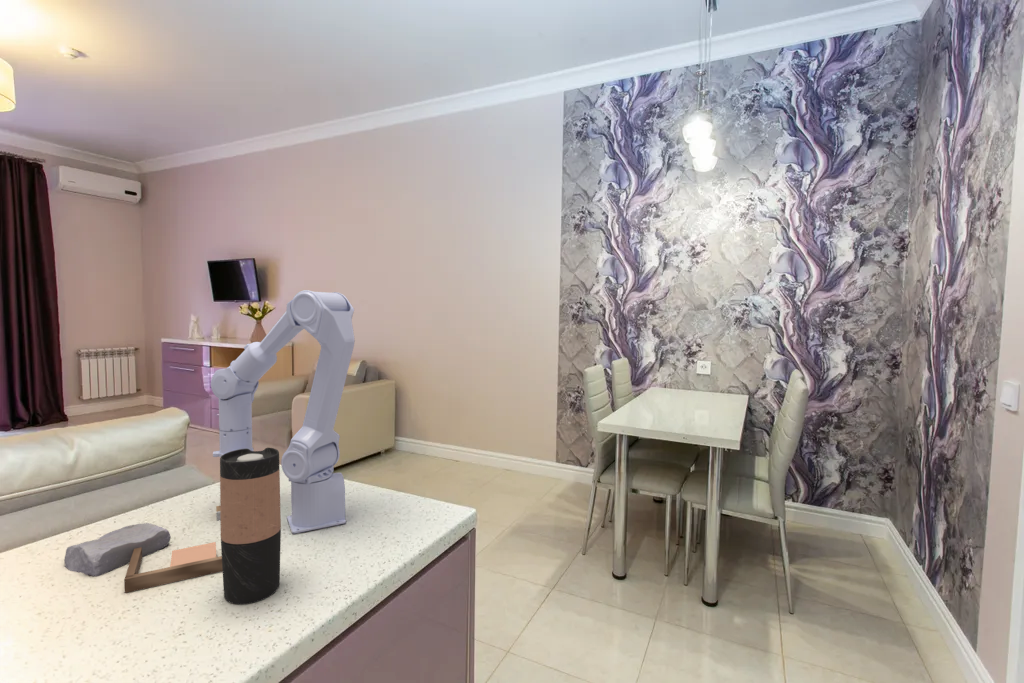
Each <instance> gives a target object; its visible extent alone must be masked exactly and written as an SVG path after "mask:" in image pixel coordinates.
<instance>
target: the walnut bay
mask: <svg viewBox="0 0 1024 683" xmlns="http://www.w3.org/2000/svg"><path fill="white" fill-rule="evenodd" d="M142 562H143V557H142V547H141V548H135V549H134V551H133V554H132V557H131V560H130V563H128V566H127V570H126V573H125V576H124V580H123V581H124V582H123V583H124V594H128V593H131V592H136V591H141V590H145V589H149V588H154V587H157V586H164V585H167V584H172V583H173V584H174V583H176V582H181V581H185V580H190V579H194V578H199V577H202V576H203V577H204V576H208V575H213V574H216V573H221V572H222V573H223V570H222V555H221V556H216V557H215V558H210V559H205V560H201V561H196V562H191V563H186V564H182V565H177V566H172V567H170V566H168V567H164V568H158V569H154V570H149V571H144V572H140V569H141V565H142Z"/></svg>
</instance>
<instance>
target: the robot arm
mask: <svg viewBox="0 0 1024 683" xmlns="http://www.w3.org/2000/svg"><path fill="white" fill-rule="evenodd" d="M354 313H355V308H354V307H353V305H352V303H351V302H350V301H349V299H348V298H347V296H346V295H345V294H343V293H341V292H338V291H335V292H327V291H325V292H324V291H313V290H308V289H305V290H300V291H298V292H297V293H296V294H295V295H294V296H293V298H292V299H291V300H290V301H288V302H287V303H286V310H285V311H284V313H283V315H281V316H280V318H279V319H278V321H277V322H276V323H275V324H274V325H273V327H272V328H271V329H270V330H269V331H268V333H267V334H266V335H265V336H264V338H263V339H262V340H261V341H253V342H251V343H247V344H246V345H245V346H244V347H243V349H244V350H243V351H242V352H241V353H240V355H239V356H237V358H236V359H234V360H232V361H231V362H230V365H229V366H228V367H226V368H220V369H217V370H215V372H214V374H213V375H212V377H211V381H210V388H211V391H212V394H213V395H214V396H215V397H216V398H217V399H218V432H219V433H218V435H219V440H218V441H219V450H216V451H215V450H213V452H212V457H213V458H217V457H219V458H221V456H222V455H224V454H225V453H228V452H231V451H235V450H239V449H249V450H251V451H255V450H254V447H253V411H252V410H253V406H252V404H253V402H254V401H255V394H256V392H257V390H258V389H259V384H260V383H259V382H260V381H259V380H261V378H262V377H263V376H264V375H266V373H268V372H269V371H270V369H271V368H273V367H274V366H275V364H276V363H277V361H278V356H277V353H278V352H280V350H282V349H283V348H284V347H285V346H286V345H287V344H289V342H290V341H292V340H293V339H294V338H295V337H296V336H297V335H299V333H301V332H302V331H303V330H305V331H306V332H307V333H309V335H311V336H312V337H313V338H314V339H315V340H317V342H318V344H319V345H320V352H319V355H318V358H317V363H316V368H315V372H314V377H313V380H312V383H311V390H310V393H309V397H308V401H307V406H306V410H305V413H304V419H303V421H302V422H303V424H302V427H300V428H299V430H298V431H297V432H296V433H295V434H294V435H293V437H292V438H291V439H290V443H289V444H288V445H289V446H288V448H287V449H286V450H284V452H283V454H282V456H281V461H280V463H281V464H280V465H281V466H280V467H281V469H282V472H283V474H284V476H286V478H288V482H290V484H291V485H290V488H291V489H290V491H291V492H290V497H291V498H290V499H291V500H290V501H291V504H290V505H291V506H290V509H291V510H290V511H291V515H287V516H286V520H287V523H288V526H289V528H290V531H291V534H299V533H303V532H308V531H309V532H310V531H314V530H319V529H325V528H329V527H334V526H338V525H343V524H346V523H347V520H346V484H345V478H344V475H343V473H342V472H334V466H335V465H337V463H338V461H339V460H340V456H341V453H340V452H341V450H340V447H339V446H340V445H339V444H340V438H341V436H340V434H339V433H338V432H336V431H335V430H334V428H335V424H336V421H337V418H338V417H337V416H338V412H339V408H340V405H341V404H340V403H341V400H342V396H343V392H344V389H345V388H344V387H345V385H346V380H347V377H348V372H349V367H350V363H351V359H352V356H353V352H354V347H355V341H356V340H355V333H354V326H353V316H354Z"/></svg>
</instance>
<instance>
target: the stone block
mask: <svg viewBox="0 0 1024 683" xmlns="http://www.w3.org/2000/svg"><path fill="white" fill-rule="evenodd" d="M170 541H171V533H170V531H169V530H168V529H167V528H165V527H163V526H160V525H157V524H153V523H150V522H144V523H136V524H131V525H130V524H129V525H126V526H124V527H121V528H119V529H115V530H112V531H110V532H108V533H105V534H104V535H102V536H100V537H99V538H97V539H92V540H88V541H83V542H80V543H79V544H73V545H70V546H68V547H66V549H65V555H64V559H63V560H64V567H65V568H66V569H68V571H70V572H74V573H81V574H84V575H87V576H88V575H90V576H91V577H99V576H102V575H104V574H107V573H110V572H112V571H113V570H114V571H115V570H116V569H119V568H121V567H123V566H126V565H129V563H130V560H131V557H132V554H133V551H134V549H135V548H141V547H142V558H145V557H146V556H148V555H151V554H153V553H156V552H158V551H160V550H163V548H165V547H166V546H168V545H169V543H170Z"/></svg>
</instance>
